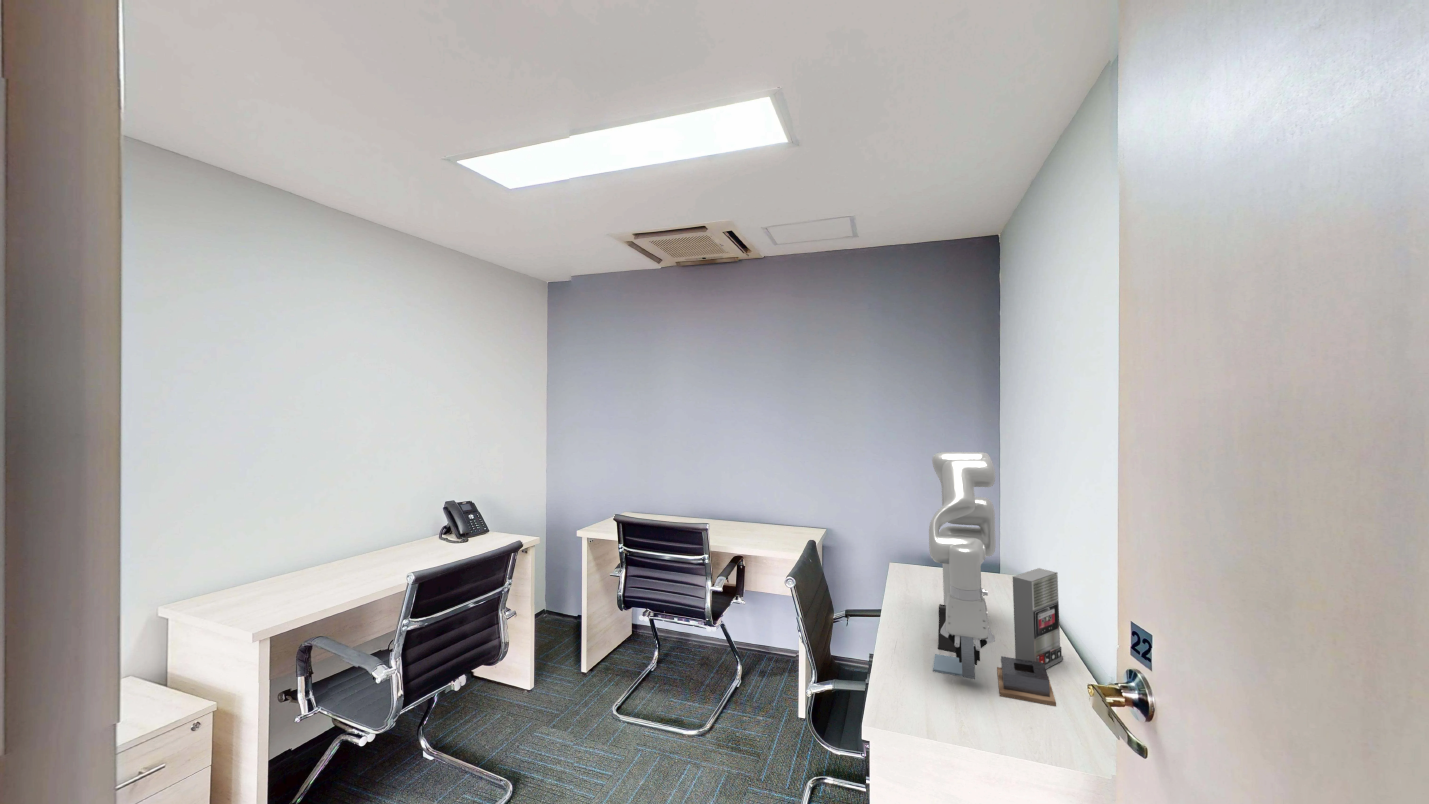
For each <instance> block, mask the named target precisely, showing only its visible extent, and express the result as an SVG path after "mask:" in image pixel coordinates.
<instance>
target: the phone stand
mask: <svg viewBox="0 0 1429 804" xmlns="http://www.w3.org/2000/svg"><path fill="white" fill-rule="evenodd" d="M945 622H946V605H944V604H942V603H940V604H938V632H937V633H938V635H937V637H938V638H937V639H938V642H937V649H938V650H941V651H947V652H951V653H956V647H955V645H954V644H953V643H952V642H951V641H950V640H949V638H947V637H945V636H944V635H942V634H941V633H940V631H941V628H942V627H943V625H944V623H945ZM954 636H955V635H954ZM960 642H961V636H960Z"/></svg>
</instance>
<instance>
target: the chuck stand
mask: <svg viewBox="0 0 1429 804" xmlns="http://www.w3.org/2000/svg"><path fill="white" fill-rule="evenodd" d="M996 671H997V680H998V681H997V683H998V689H999V690H998V691H999V697H1004V698H1009V699H1015V700H1019V701H1025V702H1026V701H1027V702H1031V703H1037V704H1043V705H1046V706H1047V705H1049V706H1053V707H1057V702H1056V699H1055V694H1054V691H1053V688H1052V684H1051V681H1050V677H1049V676H1048V678H1049V688H1050V697H1047V696H1041V695H1035V694H1030V693H1024V692H1019V691H1013V690H1007V689H1004V687H1003V679H1002V669H1001V667H1000V666H997V667H996Z"/></svg>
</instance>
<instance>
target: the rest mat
mask: <svg viewBox="0 0 1429 804" xmlns="http://www.w3.org/2000/svg"><path fill="white" fill-rule="evenodd" d="M933 659H934V661H933V666H932V667H933V668H932V672H934V671H935V672H934V673H941V674H947V675H952V676H956V677H957V676H958V677H962V662H961V663H959V658H957V657H956V656H952V655H944V654H941V653H940V654H938V653H934V658H933Z"/></svg>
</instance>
